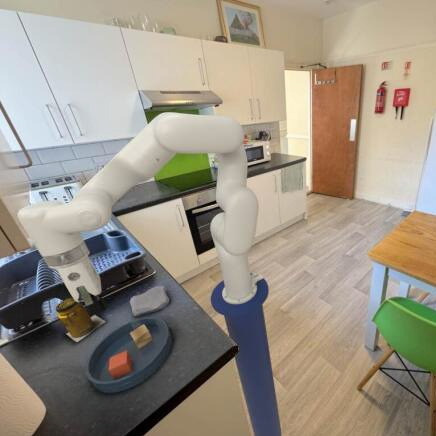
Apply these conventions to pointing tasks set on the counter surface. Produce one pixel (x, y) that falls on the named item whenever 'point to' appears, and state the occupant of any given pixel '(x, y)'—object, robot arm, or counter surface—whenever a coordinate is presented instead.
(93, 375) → the bowl
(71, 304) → the condiment
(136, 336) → the maple block
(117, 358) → the coral block
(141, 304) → the stone block
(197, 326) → the counter surface
